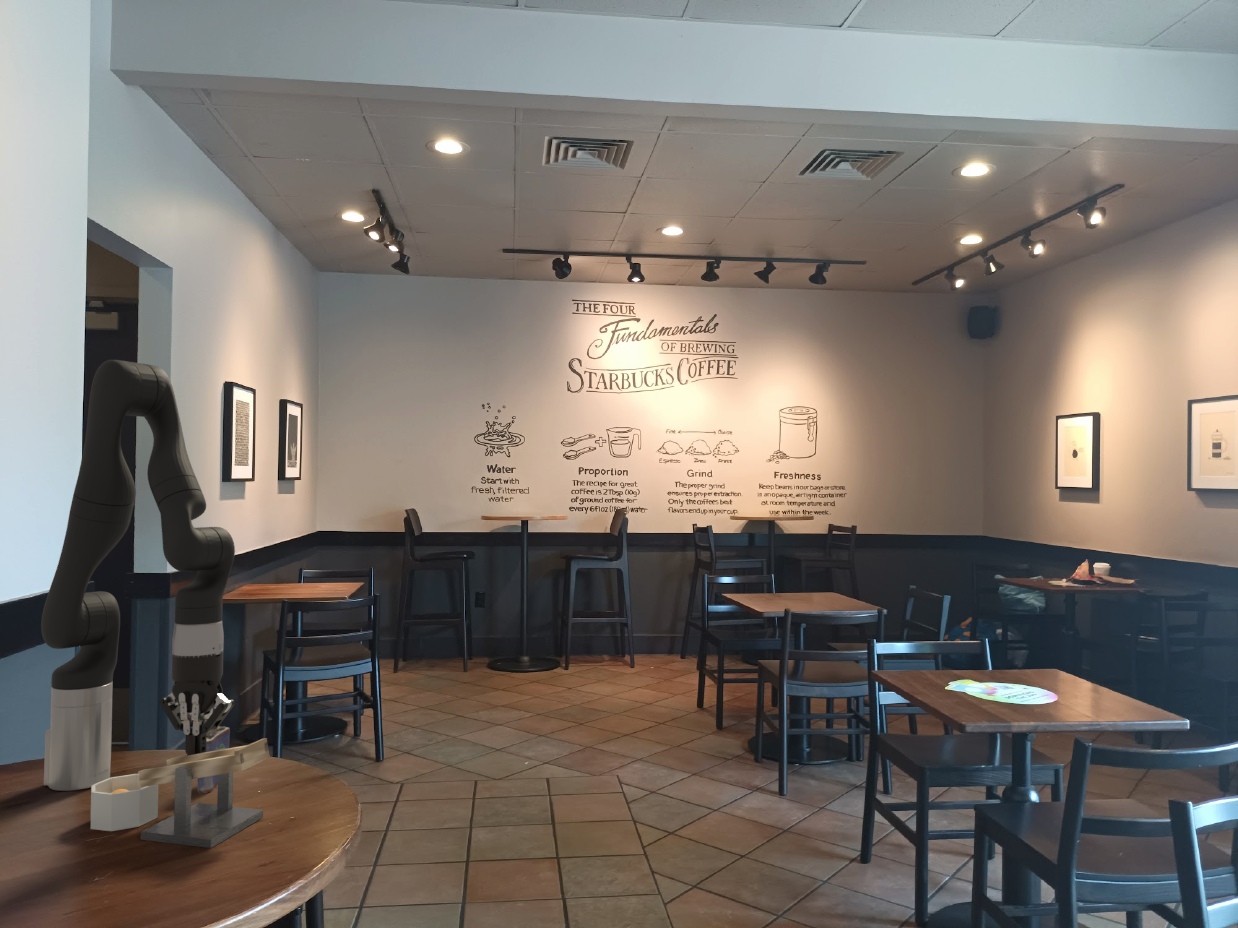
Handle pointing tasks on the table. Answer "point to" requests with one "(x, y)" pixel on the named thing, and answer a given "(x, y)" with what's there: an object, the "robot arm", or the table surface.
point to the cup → (122, 803)
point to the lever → (208, 763)
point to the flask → (213, 743)
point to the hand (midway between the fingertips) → (195, 756)
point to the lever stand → (201, 815)
